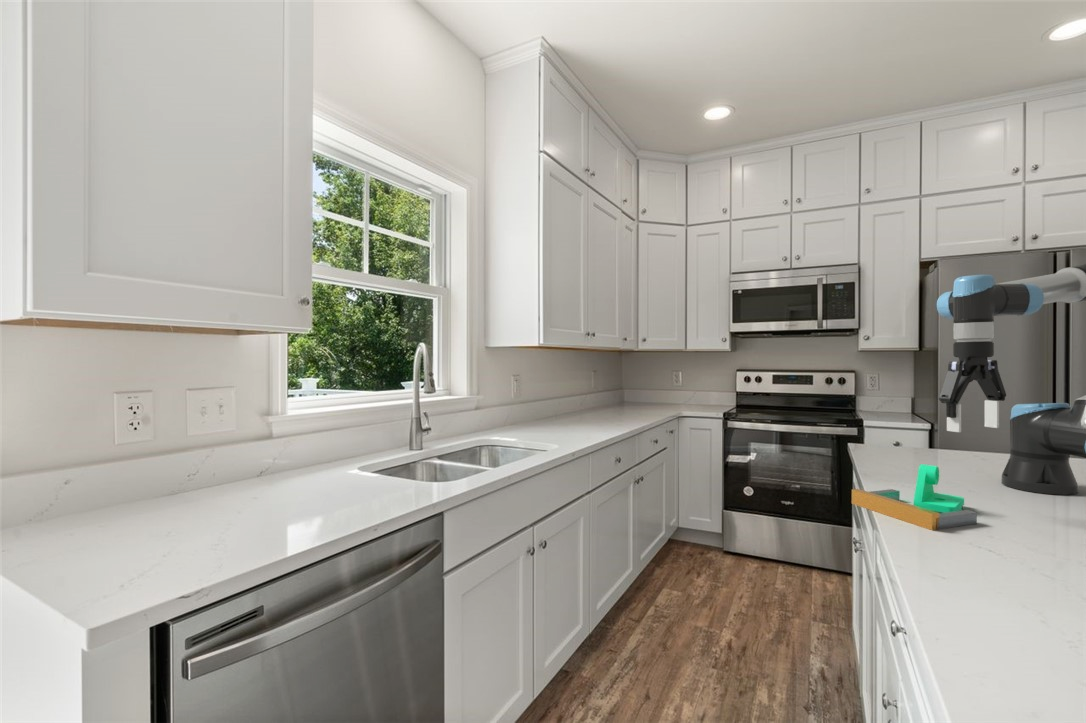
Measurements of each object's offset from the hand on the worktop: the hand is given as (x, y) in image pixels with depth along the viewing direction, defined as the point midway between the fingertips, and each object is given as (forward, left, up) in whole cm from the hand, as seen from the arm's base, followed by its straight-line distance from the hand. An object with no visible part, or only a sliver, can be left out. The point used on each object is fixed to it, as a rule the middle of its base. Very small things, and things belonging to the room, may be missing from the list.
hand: (973, 429), depth 127 cm
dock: (+18, -1, -19) cm, 26 cm away
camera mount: (+9, -1, -19) cm, 21 cm away
